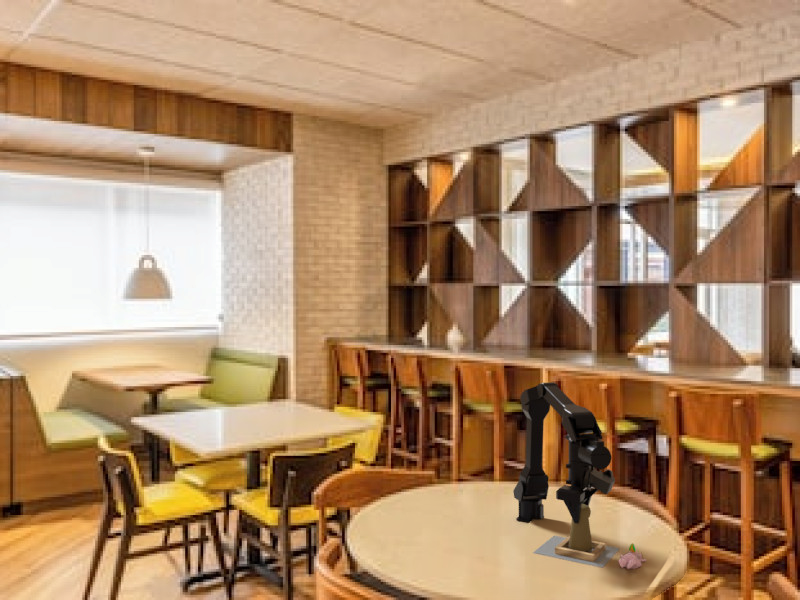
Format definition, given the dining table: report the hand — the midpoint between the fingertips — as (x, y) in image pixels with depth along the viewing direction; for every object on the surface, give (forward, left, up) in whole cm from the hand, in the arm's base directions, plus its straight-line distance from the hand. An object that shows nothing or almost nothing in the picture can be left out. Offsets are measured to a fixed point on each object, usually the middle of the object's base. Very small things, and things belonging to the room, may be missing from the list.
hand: (580, 520), depth 176 cm
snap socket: (0, 0, -8) cm, 8 cm away
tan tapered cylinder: (0, 0, -7) cm, 7 cm away
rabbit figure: (+13, -2, -9) cm, 16 cm away
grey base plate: (-1, 0, -9) cm, 9 cm away
